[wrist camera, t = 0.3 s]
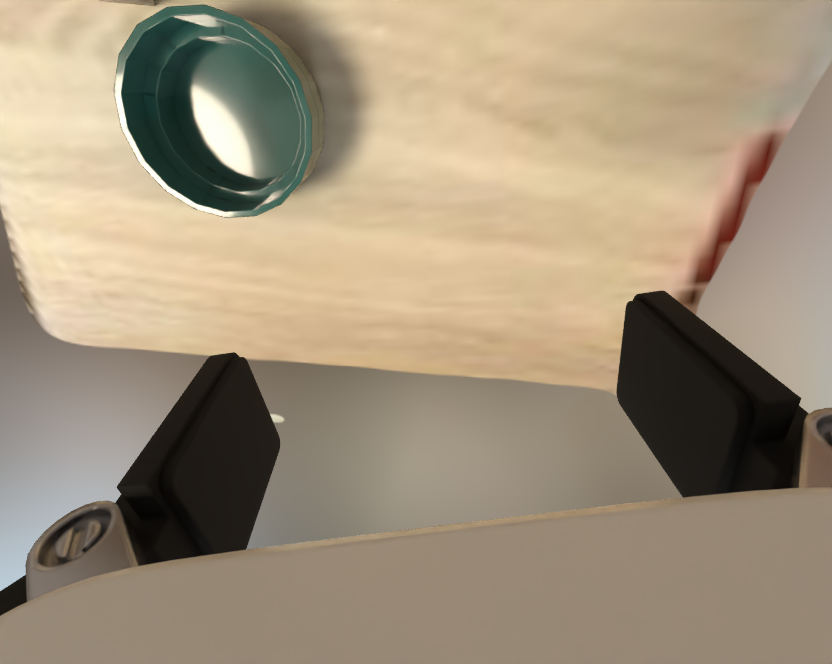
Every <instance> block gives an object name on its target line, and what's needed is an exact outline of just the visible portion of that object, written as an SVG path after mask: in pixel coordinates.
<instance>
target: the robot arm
mask: <svg viewBox="0 0 832 664" xmlns="http://www.w3.org/2000/svg"><path fill="white" fill-rule="evenodd" d="M617 398H618V401H619V404H620V405H621V407H622V408H623V410H624V411H625V413H626V414H627V416H628V417H629V419H630V420H631V421H632V423H633V425H634V426H635V428H636V429H637V430H638V432H639V434H640V435H641V436H642V438H643V439H644V441H645V442H646V444H647V445H648V447H649V448H650V450H651V451H652V453H653V454H654V456H655V457H656V459H657V460H658V461H659V463H660V464H661V466H662V467H663V469H664V470H665V472H666V473H667V475H668V476H669V478H670V479H671V481H672V482H673V483H674V485H675V486H676V488H677V489H678V491H679V492H680V494H681V495H682V497H683V498H674V499H664V500H655V501H646V502H638V503H629V504H620V505H611V506H603V507H594V508H585V509H576V510H568V511H559V512H550V513H541V514H534V515H525V516H516V517H507V518H500V519H491V520H482V521H474V522H465V523H457V524H449V525H440V526H432V527H424V528H415V529H408V530H399V531H391V532H383V533H374V534H366V535H358V536H351V537H342V538H335V539H326V540H318V541H310V542H302V543H295V544H287V545H278V546H271V547H263V548H255V549H247V550H246V548H247V545H248V542H249V539H250V536H251V533H252V530H253V527H254V524H255V521H256V518H257V515H258V512H259V509H260V506H261V503H262V500H263V497H264V494H265V491H266V488H267V485H268V482H269V479H270V476H271V474H272V470H273V467H274V465H275V462H276V459H277V456H278V453H279V449H280V438H279V435H278V432H277V430H276V428H275V425H274V423H273V421H272V418H271V416H270V414H269V411H268V409H267V407H266V404H265V402H264V399H263V397H262V395H261V392H260V390H259V388H258V386H257V383H256V381H255V378H254V376H253V374H252V371H251V369H250V367H249V364H248V362H247V360H246V359H245V358H244V357H239V356H238V355H237V354H236V353H227V354H220V355H213V356H210V357H209V358H208V359H207V360H206V362H205V363H204V365H203V366H202V367H201V369H200V370H199V372H198V373H197V374H196V376H195V377H194V379H193V380H192V382H191V383H190V384H189V386H188V387H187V389H186V390H185V391H184V393H183V394H182V396H181V397H180V398H179V400H178V401H177V403H176V404H175V405H174V407H173V408H172V410H171V411H170V412H169V414H168V415H167V417H166V418H165V420H164V421H163V422H162V424H161V425H160V427H159V428H158V430H157V431H156V432H155V434H154V435H153V436H152V438H151V439H150V441H149V442H148V444H147V445H146V447H145V448H144V449H143V451H142V452H141V453H140V455H139V456H138V458H137V459H136V460H135V462H134V463H133V465H132V466H131V467H130V469H129V470H128V472H127V473H126V475H125V476H124V477H123V479H122V480H121V482H120V483H119V484H118V486H117V488H118V490H119V491H120V493H121V495H120V497H119V498H118V500H117V501H116V503H114V502H110V501H98V502H94V503H90V504H87V505H84V506H82V507H80V508H78V509H76V510H73V511H71V512H70V513H68V514H67V515H65V516H64V517H62V518H61V519H59V520H58V521H56V522H55V523H54V524H53V525H52V526H51V527H49V528H48V529H47V530H46V531H45V532H44V533H43V534H42V535H41V536H40V538H39V539H38V540H37V541H36V542H35V543H34V545H33V547H32V548H31V550H30V552H29V553H28V556H27V561H26V575H25V576H23V577H22V578H20V579H19V580H17V581H16V582H14V583H13V584H11V585H10V586H8V587H6V588H5V589H3V590H2V591H0V664H832V408H824V409H819V410H815V411H813V412H811V413H810V414H809V413H807V412H806V411H805V410H804V409H803V408H801V407H800V406H799V403H800V400H801V398H800V397H799V396H798V395H796V394H795V393H793V392H792V391H791V390H790V389H789V388H787V387H786V386H785V385H784V384H782V383H781V382H780V381H778V380H777V379H776V378H775V377H773V376H772V375H771V374H770V373H768V372H767V371H766V370H765V369H763V368H762V367H761V366H759V365H758V364H757V363H756V362H754V361H753V360H752V359H751V358H749V357H748V356H747V355H745V354H744V353H743V352H742V351H740V350H739V349H738V348H736V347H735V346H734V345H732V344H731V343H730V342H729V341H728V340H726V339H725V338H724V337H723V336H721V335H720V334H719V333H718V332H716V331H715V330H714V329H712V328H711V327H710V326H708V325H707V324H706V323H705V322H704V321H702V320H701V319H700V318H698V317H697V316H696V315H695V314H693V313H692V312H691V311H690V310H688V309H687V308H686V307H684V306H683V305H682V304H681V303H679V302H678V301H677V300H676V299H674V298H673V297H672V296H671V295H669V294H668V293H667V292H665V291H656V292H649V293H642V294H637V295H636V296H635V297H634V299H633V301H629V302H628V303H627V305H626V311H625V320H624V329H623V338H622V347H621V356H620V365H619V374H618V383H617Z"/></svg>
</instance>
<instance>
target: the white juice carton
mask: <svg viewBox="0 0 832 664" xmlns="http://www.w3.org/2000/svg"><path fill="white" fill-rule="evenodd" d="M100 1H107V2H118V3H129V4H139V5H150V6H155V5H154V0H100Z"/></svg>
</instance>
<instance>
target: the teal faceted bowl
mask: <svg viewBox="0 0 832 664" xmlns="http://www.w3.org/2000/svg"><path fill="white" fill-rule="evenodd" d="M114 95H115V100H116V105H117V110H118V115H119V120H120V125H121V128H122V131H123V133H124V135H125V137H126V139H127V140H128V142H129V144H130V146H131V148H132V150H133V152H134V154H135V156H136V157H137V159H138V161H139V163H140V164H141V165H142V166H143V167H144V168H145V170H146V171H147V172H148V173H149V174H150V175H151V176H152V177H153V178H154V179H155V180H156V181H157V182H158V184H159V185H160V186H161V187H162V188H163V189H164V190H165V191H167V192H168V193H170V194H171V195H173V196H175V197H176V198H178V199H179V200H181V201H183V202H184V203H186V204H187V205H189V206H191V207H192V208H194V209H196V210H200V211H203V212H207V213H211V214H214V215H218V216H221V217H225V218H232V217H249V216H257V215H259V214H262V213H264V212H266V211H268V210H270V209H272V208H274V207H277V206H279V205H281V204H282V203H283V202H284V201H285V200H286V199H287V198H288V197H289V196H290V195H291V194H292V193H293V192H294V191H295V190H296V189H297V188H298V187H299V186H300V185H301V184H302V183H303V182H304V180H305V179H306V178H307V177H308V176H309V175H310V174H311V173H312V172H313V170H314V169H315V166H316V163H317V161H318V158H319V155H320V153H321V150H322V147H323V144H324V110H323V107H322V104H321V100H320V97H319V94H318V90H317V87H316V84H315V81H314V79H313V77H312V76H311V74H310V73H309V71H308V70H307V68H306V67H305V65H304V64H303V62H302V61H301V59H300V58H299V56H298V55H297V53H296V52H295V51H294V50H293V49H292V48H291V47H290V46H289V45H287V44H286V43H285V42H284V41H282V40H281V39H280V38H279V37H277V36H276V35H275V34H274V33H273V32H271V31H270V30H269V29H268V28H266V27H263V26H261V25H258V24H256V23H254V22H251V21H249V20H246V19H244V18H241V17H238V16H236V15H233V14H230V13H227V12H224V11H222V10H219V9H216V8H213V7H210V6H208V5H188V6H171V7H166V8H164V9H163V10H161V11H159V12H158V13H156V14H154V15H153V16H151V17H149V18H148V19H146V20H144V21H142V22H141V23H139V24H138V25H137V26H136V27H135V29H134V31H133V32H132V34H131V35H130V37H129V39H128V40H127V42H126V43H125V45H124V47H123V48H122V50H121V51H120V53H119V56H118V64H117V71H116V78H115V85H114Z"/></svg>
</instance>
